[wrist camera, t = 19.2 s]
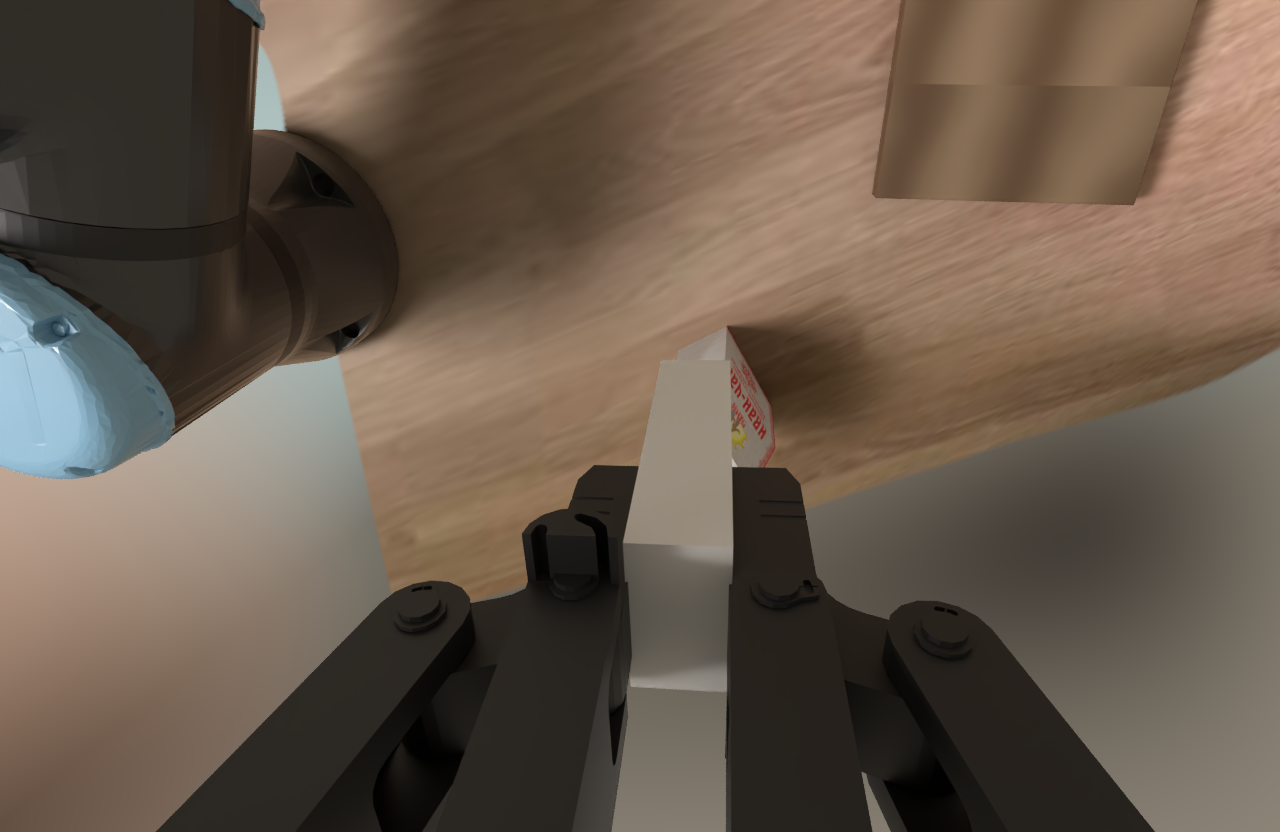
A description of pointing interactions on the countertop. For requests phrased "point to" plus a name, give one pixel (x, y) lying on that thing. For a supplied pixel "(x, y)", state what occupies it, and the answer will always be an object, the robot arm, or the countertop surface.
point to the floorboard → (1027, 98)
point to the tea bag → (739, 400)
